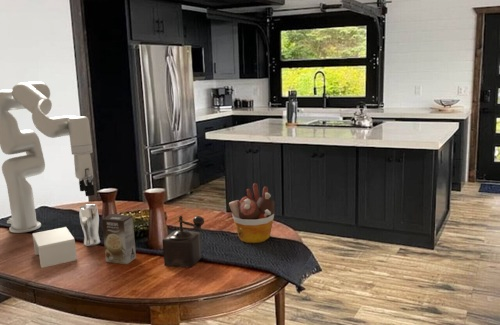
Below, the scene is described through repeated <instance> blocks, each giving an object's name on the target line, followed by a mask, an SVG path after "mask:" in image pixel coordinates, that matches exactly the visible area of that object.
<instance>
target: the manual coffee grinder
mask: <svg viewBox="0 0 500 325" xmlns="http://www.w3.org/2000/svg"><path fill="white" fill-rule="evenodd" d="M178 218H179V219H178V222H179V229H178V230H176V229H175V230H174V231H172V232H170V233H169V234H168V235H167V236H165V237H164V238H163V239H162V242H161V243H162V250H163V264H164V266H165V267H173V268H193V267H194V266H195V265H196V264H197V263H198V262H199V261H200V260H201V258H202V257H203V255H202V254H203V252H202V239H201V238H202V237H201V232H200V231H201V230H202V226H203V225H204V224H205V218H204V217H202V216H201V215H196V216H195V217H193V219H192V222H193V223H191V222H188V221H184V219H183V215H179V216H178ZM183 224H184V225H186V226H191V227H193V230H194V231H192V230H191V231H189V230H188V229H187V230H186V229H184V228H183ZM201 256H202V257H201Z"/></svg>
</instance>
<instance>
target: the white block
mask: <svg viewBox="0 0 500 325" xmlns="http://www.w3.org/2000/svg"><path fill="white" fill-rule="evenodd" d="M31 235H32V240H33V247H34V254H35V255H36V256H37V255H38V256H39V263H40V268H41V269H42V268H47V267H52V266H56V265H61V264H64V263H69V262H74V261H78V258H77V257H78V255H77V247H76V240H75V237H74V236H73V235H72V233H71V232H70V230H69V229H68V228H67V226H63V227H58V228H54V229H53V228H52V229H49V230H44V231H39V232H33V233H32V234H31Z"/></svg>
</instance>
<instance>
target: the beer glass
mask: <svg viewBox="0 0 500 325" xmlns="http://www.w3.org/2000/svg"><path fill="white" fill-rule="evenodd" d="M78 210H79V221H80V222H79V223H80V225H81V228H82V232H83V236H84V239H83V245H84V246H87V247H93V246H97V245H99V244H100V243H101V240H100V236H99V222H100V217H99V211H98V204H93V203H92V204H90V203H89V204H88V203H87V204H84V205H80V206H79V209H78Z"/></svg>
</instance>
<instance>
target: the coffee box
mask: <svg viewBox="0 0 500 325" xmlns="http://www.w3.org/2000/svg"><path fill="white" fill-rule="evenodd" d="M101 225H102V232H103V233H102V234H103V235H102V236H103V243H104V253H105V262H106V263H112V264H113V263H114V264H121V265H123V264H124V265H128V264H129V263H131V262H132V261H134V260H135V259H136V258H137V254H136V252H137V251H136V242H135V230H134V229H135V228H134V217H133V215H130V214H120V213H119V214H118V213H110V214H109V215H107V216H105V217H103V218H102V219H101Z"/></svg>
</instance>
